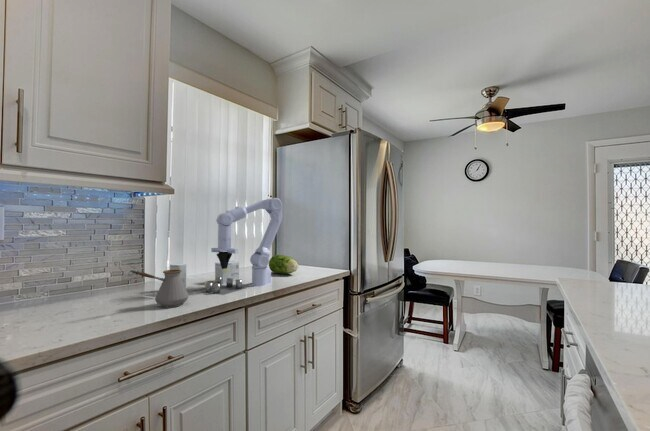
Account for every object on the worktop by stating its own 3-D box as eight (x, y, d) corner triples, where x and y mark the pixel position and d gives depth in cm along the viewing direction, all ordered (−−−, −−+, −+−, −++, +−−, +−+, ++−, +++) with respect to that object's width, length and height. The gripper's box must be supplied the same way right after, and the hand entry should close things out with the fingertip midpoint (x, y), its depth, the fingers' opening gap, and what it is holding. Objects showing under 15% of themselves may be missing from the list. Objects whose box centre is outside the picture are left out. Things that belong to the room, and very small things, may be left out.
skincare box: (169, 290, 143) (169, 264, 143) (176, 288, 147) (176, 263, 147) (179, 291, 141) (179, 265, 141) (186, 289, 145) (186, 264, 145)
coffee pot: (177, 299, 127) (177, 262, 127) (194, 303, 121) (195, 264, 121) (119, 312, 109) (120, 269, 109) (137, 318, 103) (138, 272, 103)
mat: (217, 285, 154) (217, 284, 154) (246, 289, 146) (246, 288, 146) (192, 292, 140) (192, 290, 140) (222, 296, 132) (222, 294, 132)
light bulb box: (231, 280, 168) (231, 260, 169) (239, 281, 165) (239, 261, 165) (214, 283, 160) (214, 262, 160) (222, 285, 156) (222, 263, 156)
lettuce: (289, 277, 177) (289, 257, 177) (265, 273, 190) (265, 255, 191) (303, 274, 186) (303, 255, 186) (279, 271, 199) (280, 253, 200)
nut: (210, 286, 149) (210, 280, 149) (218, 287, 148) (218, 280, 148) (202, 288, 144) (202, 282, 144) (211, 289, 143) (211, 282, 143)
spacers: (218, 284, 153) (218, 276, 153) (244, 287, 146) (244, 279, 146) (193, 290, 140) (193, 281, 140) (221, 294, 133) (221, 285, 133)
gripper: (206, 239, 145) (206, 268, 144) (230, 239, 138) (230, 270, 138) (217, 238, 151) (217, 266, 151) (241, 239, 145) (241, 268, 144)
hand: (224, 268), depth 145 cm, fingers closed
